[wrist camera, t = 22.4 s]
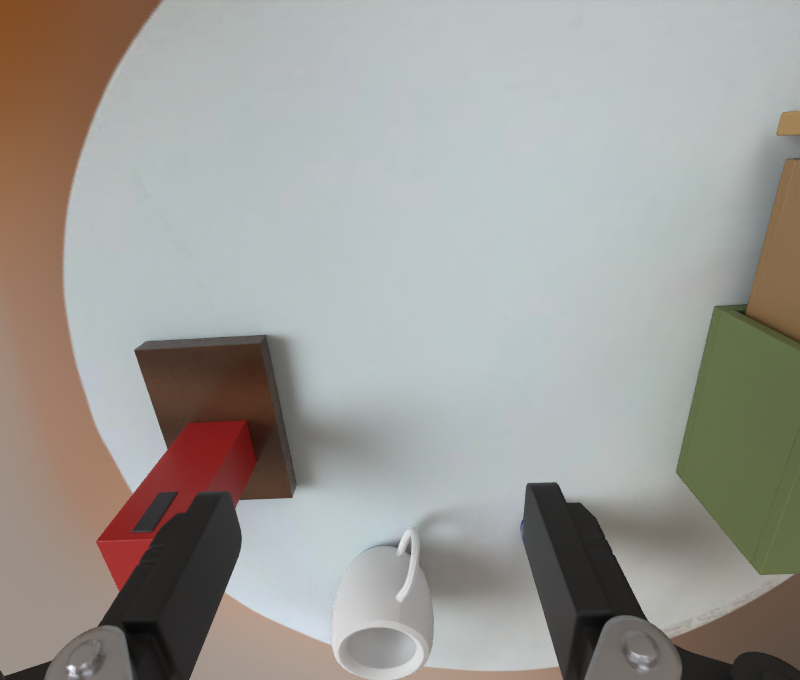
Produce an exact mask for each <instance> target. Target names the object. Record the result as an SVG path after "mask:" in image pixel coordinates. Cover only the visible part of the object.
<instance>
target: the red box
mask: <svg viewBox="0 0 800 680" xmlns="http://www.w3.org/2000/svg"><path fill="white" fill-rule="evenodd" d="M256 463H257V461H256V457H255V453H254V449H253V445H252V441H251V437H250V432H249V428H248V424H247V420H241V421H220V422H199V423H188V424H187V426H186V427H185V428H184V429H183V431H182V432H181V433H180V435H179V436H178V437H177V438H176V440H175V441H174V442H173V444H172V445H171V446H170V447H169V449H168V450H167V451H166V453H165V454H164V455H163V456H162V458H161V459H160V460H159V461H158V463H157V464H156V465H155V467H154V468H153V469H152V470H151V472H150V473H149V474H148V476H147V477H146V478H145V479H144V481H143V482H142V483H141V485H140V486H139V487H138V488H137V490H136V491H135V492H134V493H133V495H132V496H131V497H130V499H129V500H128V501H127V502H126V504H125V505H124V506H123V508H122V509H121V510H120V511H119V513H118V514H117V515H116V517H115V518H114V519H113V520H112V522H111V523H110V524H109V526H108V527H107V528H106V529H105V531H104V532H103V533H102V535H101V536H100V537H99V538H98V540H97V541H96V543H97V545H98V547H99V549H100V551H101V553H102V555H103V558H104V560H105V562H106V564H107V566H108V568H109V570H110V572H111V575H112V577H113V579H114V581H115V583H116V585H117V588H118V589H119V592H120V591H121V589H122V588H123V586H124V584H125V583H126V581H127V580H128V578H129V577H130V575H131V573H132V572H133V570H134V569H135V567H136V566H137V565H139V561H140V559H141V558H142V556H143V554H144V553H145V551H146V550H148V549H149V545H150V543H151V542H152V540H153V539H154V537H155V535H156V534H157V532H158V531H159V529H160V528H161V527H162V526H163V525H164V524H165V523H166V522H168V521H169V520H170V519H171V518H172V517H173V516H174V515H175V514H176V513H182V512H186V511H187V509H188V508H189V506H190V504H191V503H192V501H193V499H194V497H195V496H196V495H197V494H198V493H199V492H208V491H229V492H230V494H231V496H232V499H233V503H234V507H235V508H236V506H237V503H238V501H239V499H240V497H241V495H242V493H243V491H244V489H245V486H246V484H247V482H248V480H249V478H250V476H251V474H252V472H253V469H254V467H255V465H256Z"/></svg>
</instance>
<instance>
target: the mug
mask: <svg viewBox="0 0 800 680" xmlns="http://www.w3.org/2000/svg"><path fill="white" fill-rule="evenodd" d="M410 538H411V542H412V549H411V555H410V554H408V553H407V552H405V551H406V548H407V545H408V543H409V540H410ZM419 556H420V538H419V533H418V530H417V529H416V528H415V527H409V528H408V529H407V530H406V531H405V533H404V535H403V537H402V539H401V541H400V544H399V547H398V548H396V547H391V546H378V547H373V548H370V549H368V550H366V551H364V552H362V553H361V554H360V555H358V556H357V557H356V558H355V559H354V560H353V561H352V562H351V564H350V565H349V567H348V568H347V570H346V572H345V574H344V576H343V578H342V580H341V582H340V585H339V588H338V591H337V594H336V598H335V602H334V607H333V613H332V622H331V645H332V648H333V652H334V655H335V658H336V660H337V661H338V663H339V664H340V665H341V666H342V667H343V668H344V669H345V670H347V671H348V672H350V673H352V674H354V675H356V676H359V677H362V678H366V679H370V680H396V679H401V678H404V677H407V676H409V675H412V674H414V673H415V672H417V671H418V670H419V669H421V668H422V667H423V666H424V664H425V663H426V661H427V659H428V657H429V654H430V652H431V648H432V644H433V633H434V616H433V605H432V599H431V594H430V590H429V586H428V583H427V580H426V577H425V575H424V573H423V571H422V569H421V567H420V565H419Z"/></svg>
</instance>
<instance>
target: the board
mask: <svg viewBox="0 0 800 680" xmlns="http://www.w3.org/2000/svg"><path fill="white" fill-rule="evenodd" d="M134 351H135V354H136V357H137V360H138V363H139V366H140V369H141V372H142V375H143V378H144V381H145V384H146V387H147V390H148V393H149V395H150V398H151V401H152V404H153V407H154V410H155V413H156V416H157V419H158V422H159V425H160V428H161V431H162V434H163V437H164V440H165V443H166V446H167V449H169V447H170V446H171V445H172V444H173V442H174V441H175V440H176V438H177V437H178V436H179V435H180V433H181V432H182V431H183V429H184V428H185V427H186V426H187V424H188V423H199V422H220V421H241V420H247V424H248V428H249V432H250V437H251V441H252V445H253V449H254V453H255V457H256V461H257V463H256V465H255V467H254V469H253V472H252V474H251V476H250V478H249V480H248V482H247V484H246V486H245V489H244V491H243V493H242V495H241V497H240V499H239V500H252V499H276V498H292V497H293V494H294V491H295V488H296V481H295V476H294V471H293V466H292V461H291V456H290V452H289V447H288V442H287V437H286V432H285V427H284V422H283V417H282V412H281V407H280V402H279V397H278V393H277V388H276V383H275V378H274V373H273V368H272V363H271V358H270V353H269V348H268V343H267V338H266V335H258V336H240V337H222V338H204V339H185V340H167V341H149V342H144V343H143V344H142V345H140V346H139V347H138V348H136V349H135V350H134Z"/></svg>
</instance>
